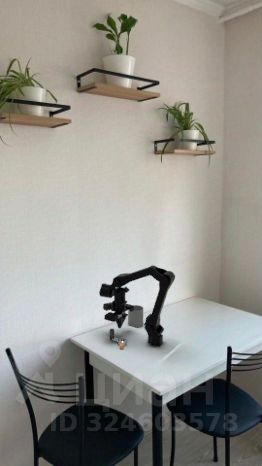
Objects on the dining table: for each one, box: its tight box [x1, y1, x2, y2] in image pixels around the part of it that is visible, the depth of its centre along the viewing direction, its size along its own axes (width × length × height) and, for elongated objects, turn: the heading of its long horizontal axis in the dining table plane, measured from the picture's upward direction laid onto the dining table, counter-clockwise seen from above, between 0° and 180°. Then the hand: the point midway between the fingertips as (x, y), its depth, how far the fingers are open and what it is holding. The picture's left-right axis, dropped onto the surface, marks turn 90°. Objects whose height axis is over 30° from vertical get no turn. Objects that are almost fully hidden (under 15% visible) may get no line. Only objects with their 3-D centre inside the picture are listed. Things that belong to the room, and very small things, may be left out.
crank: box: [109, 328, 128, 347], centre depth 194 cm, size 10×4×6 cm, turn 57°
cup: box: [127, 304, 144, 329], centre depth 219 cm, size 8×8×10 cm
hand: (119, 328), depth 201 cm, fingers closed
